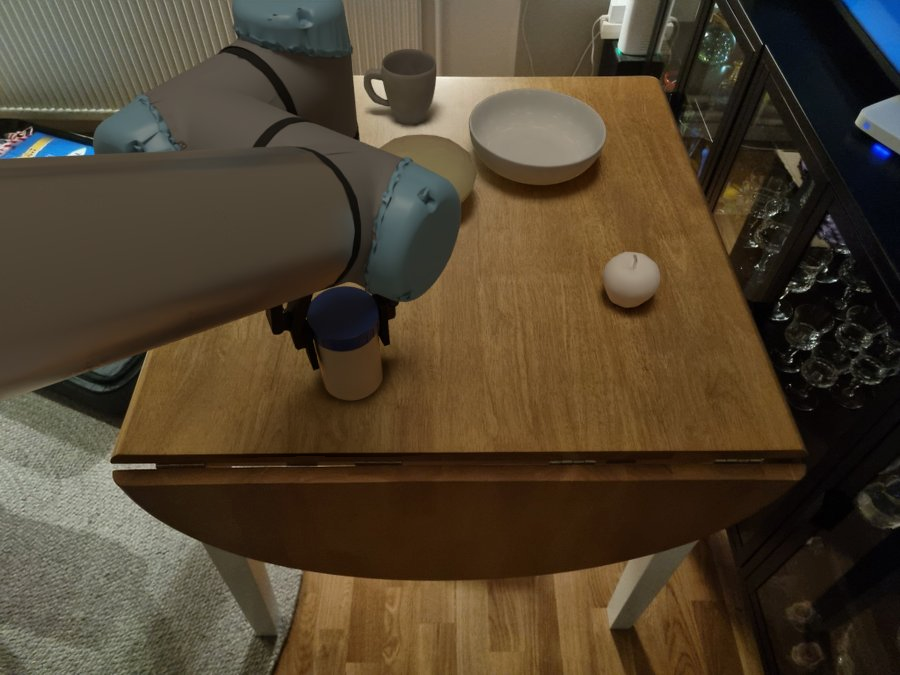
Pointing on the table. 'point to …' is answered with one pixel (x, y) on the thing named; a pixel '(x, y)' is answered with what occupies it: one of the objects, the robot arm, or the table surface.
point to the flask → (437, 159)
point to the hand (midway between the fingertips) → (348, 348)
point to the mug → (405, 84)
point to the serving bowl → (536, 135)
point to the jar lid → (343, 318)
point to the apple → (631, 279)
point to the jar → (351, 370)
